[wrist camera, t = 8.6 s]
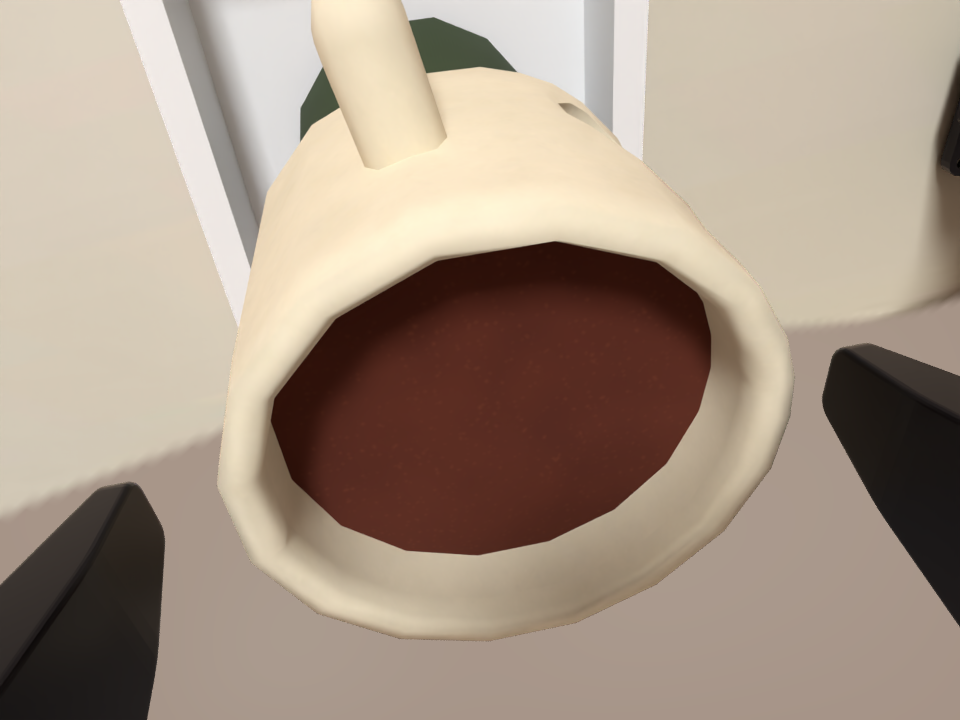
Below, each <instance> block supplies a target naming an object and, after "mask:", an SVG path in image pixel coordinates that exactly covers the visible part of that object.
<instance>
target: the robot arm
mask: <svg viewBox="0 0 960 720" xmlns="http://www.w3.org/2000/svg"><path fill="white" fill-rule="evenodd" d="M959 158H960V98H959V102H958V105H957V108H956V112H955V115H954V118H953V122H952V125H951V128H950V132H949V135H948V138H947V142H946V145H945V148H944V152H943V155H942V158H941V167H942V169H943V170H945V171H946V172H948V173H950V174H952V175H954V176H960V161H959V162H958V163H957V161H958V159H959ZM822 403H823V408H824V411H825V414H826V416H827V418H828V420H829V422H830V424H831V425H832V427H833V429H834V431H835V433H836V434H837V436H838V438H839V440H840V442H841V444H842V445H843V447H844V449H845V451H846V453H847V455H848V456H849V458H850V460H851V462H852V464H853V465H854V467H855V469H856V471H857V473H858V475H859V476H860V478H861V480H862V482H863V484H864V485H865V487H866V489H867V491H868V493H869V494H870V496H871V498H872V500H873V501H874V503H875V505H876V506H877V508H878V510H879V511H880V513H881V514H882V516H883V517H884V519H885V520H886V522H887V523H888V525H889V526H890V528H891V529H892V530H893V532H894V533H895V535H896V536H897V538H898V539H899V540H900V542H901V543H902V545H903V546H904V547H905V549H906V551H907V552H908V553H909V555H910V556H911V558H912V559H913V561H914V562H915V563H916V565H917V566H918V568H919V569H920V570H921V572H922V573H923V575H924V576H925V577H926V579H927V580H928V582H929V583H930V585H931V586H932V588H933V589H934V591H935V592H936V594H937V595H938V596H939V598H940V599H941V601H942V602H943V604H944V605H945V606H946V608H947V609H948V611H949V612H950V613H951V615H952V616H953V618H954V619H955V621H956V622H957V624H958V625H959V626H960V376H958V375H955V374H952V373H950V372H947V371H944V370H942V369H939V368H936V367H933V366H931V365H928V364H925V363H922V362H920V361H917V360H914V359H912V358H909V357H906V356H903V355H901V354H898V353H895V352H892V351H890V350H887V349H884V348H882V347H879V346H876V345H873V344H869V343H863V344H857V345H852V346H847V347H842V348H840V349H838V350H836V352H835V353H834V354H833V356H832V359H831V363H830V367H829V371H828V375H827V379H826V383H825V388H824V391H823V396H822ZM164 537H165V536H164V531H163V528H162V525H161V524H160V521H159V519H158V518H157V516H156V514H155V512H154V511H153V508H152V507H151V505H150V503H149V501H148V499H147V498H146V496H145V494H144V492H143V490H142V489H141V488H140V486H139V485H138V484H136V483H134V482H125V483H120V484H114V485H109V486H104V487H101V488H99V489H97V490H96V491H95V492H94V493H93V494H92V495H91V496H90V497H89V498H88V499H86V500H85V502H83V503H82V505H81V506H79V508H77V510H75V511H74V512H73V513H72V514H71V515H70V516H69V517H68V518H67V519H66V520H65V521H64V522H63V523H62V524H61V525H60V526H59V527H58V528H57V529H56V530H55V531H54V532H53V533H52V534H51V535H50V536H49V537H48V538H47V539H46V540H45V541H44V542H43V543H42V544H41V545H40V546H39V547H38V548H37V549H36V550H35V551H34V552H33V553H32V554H31V555H30V556H29V557H28V558H27V559H26V560H25V561H24V562H23V563H22V564H21V565H20V566H19V567H18V568H17V569H16V570H15V571H14V572H13V573H12V574H11V575H10V576H9V577H8V578H7V579H6V580H5V581H4V582H3V583H2V584H1V585H0V720H147V716H148V711H149V706H150V700H151V694H152V689H153V684H154V678H155V671H156V665H157V658H158V647H159V633H160V632H159V631H160V617H161V600H162V583H163V568H164V552H165V538H164Z"/></svg>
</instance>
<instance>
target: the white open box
mask: <svg viewBox="0 0 960 720" xmlns="http://www.w3.org/2000/svg"><path fill="white" fill-rule="evenodd" d="M401 1H402V4H403V6H404V9H405V12H406V15H407V18H408V21H410V20H417V19H424V18H431V17H435V18H437V19H440V20H442V21H445V22H447V23H450V24H452V25H455V26H457V27H460V28H462V29H465V30H467V31H470V32H472V33H475V34H477V35H480V36H482V37H485V38H487V39H488V40H489V41H490V42H491V43H492V45H493V46H494V47H495V48H496V49H497V50H498V51H499V52H500V53H501V54H502V56H503V57H504V58H505V59H506V60H507V61H508V62H509V63H510V64H511V65H512V67H513V68H514V69H515V70H516V71H517V72H518V73H522V74H525V75H528V76H531V77H534V78H537V79H540V80H543V81H546V82H549V83H552V84H554V85H556V86H557V87H559V88H560V89H562V90H564V91H565V92H567V93H568V94H570V95H571V96H573V97H575V98H576V99H578V100H579V101H581V102H582V103H583V104H584V105H585V106H586V107H587V108H588V109H589V110H590V111H591V112H592V113H593V114H594V115H595V116H596V117H597V118H598V119H599V120H600V121H601V122H602V123H603V124H604V125H605V126H606V127H607V128H608V129H609V130H610V131H611V132H612V133H613V134H614V135H615V136H616V137H617V138H618V140H619V142H620V144H621V146H622V148H624V149H625V150H627V151H628V152H630V153H631V154H633V155H634V156H635V157H637V158H638V159H640V160H641V161H642V155H643V131H644V107H645V83H646V59H647V35H648V11H649V0H401ZM120 2H121V5H122V8H123V11H124V13H125V16H126V19H127V22H128V24H129V27H130V30H131V33H132V35H133V38H134V41H135V44H136V47H137V49H138V52H139V55H140V58H141V60H142V63H143V66H144V69H145V71H146V74H147V77H148V80H149V82H150V85H151V88H152V91H153V94H154V96H155V99H156V102H157V105H158V107H159V110H160V113H161V116H162V118H163V121H164V124H165V127H166V129H167V132H168V135H169V138H170V141H171V143H172V146H173V149H174V152H175V154H176V157H177V160H178V163H179V165H180V168H181V171H182V174H183V176H184V179H185V182H186V185H187V188H188V190H189V193H190V196H191V199H192V201H193V204H194V207H195V210H196V212H197V215H198V218H199V221H200V223H201V226H202V229H203V232H204V235H205V237H206V240H207V243H208V246H209V248H210V251H211V254H212V257H213V259H214V262H215V265H216V268H217V270H218V273H219V276H220V279H221V282H222V284H223V287H224V290H225V293H226V295H227V298H228V301H229V304H230V306H231V309H232V312H233V315H234V317H235V320H236V323H237V326H238V329H239V324H240V319H241V314H242V309H243V305H244V300H245V295H246V290H247V285H248V281H249V276H250V271H251V266H252V262H253V257H254V252H255V247H256V242H257V238H258V233H259V228H260V223H261V219H262V214H263V209H264V204H265V199H266V195H267V191H268V190H269V188H270V187H271V185H272V184H273V182H274V181H275V179H276V178H277V176H278V175H279V173H280V172H281V170H282V169H283V167H284V166H285V164H286V163H287V161H288V160H289V158H290V157H291V155H292V154H293V152H294V151H295V149H296V148H297V146H298V145H299V143H300V108H301V106H302V104H303V103H304V101H305V99H306V97H307V95H308V93H309V91H310V90H311V88H312V86H313V84H314V82H315V80H316V78H317V77H318V75H319V73H320V71H321V69H322V67H323V66H322V63H321V60H320V58H319V55H318V52H317V50H316V47H315V45H314V41H313V37H312V32H311V0H120Z"/></svg>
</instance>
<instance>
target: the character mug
mask: <svg viewBox="0 0 960 720" xmlns="http://www.w3.org/2000/svg"><path fill="white" fill-rule="evenodd" d="M311 32H312V37H313V41H314V45H315V47H316V50H317V52H318V55H319V58H320V60H321V63H322V66H323V67H322V69H321V71H320V73H319V75H318V77H317V78H316V80H315V82H314V84H313V86H312V88H311V90H310V91H309V93H308V95H307V97H306V99H305V101H304V103H303V104H302V106H301V108H300V143H299V145H298V146H297V148H296V149H295V151H294V152H293V154H292V155H291V157H290V158H289V160H288V161H287V163H286V164H285V166H284V167H283V169H282V170H281V172H280V173H279V175H278V176H277V178H276V179H275V181H274V182H273V184H272V185H271V187H270V188H269V190H268V191H267V195H266V199H265V204H264V209H263V214H262V219H261V223H260V228H259V233H258V238H257V242H256V247H255V252H254V257H253V262H252V266H251V271H250V276H249V281H248V285H247V290H246V295H245V300H244V305H243V309H242V314H241V319H240V324H239V329H238V333H237V338H236V343H235V348H234V352H233V357H232V363H231V371H230V379H229V387H228V394H227V402H226V410H225V418H224V426H223V433H222V441H221V449H220V458H219V469H218V480H217V487H218V489H219V492H220V494H221V496H222V499H223V501H224V503H225V505H226V508H227V510H228V512H229V514H230V517H231V519H232V521H233V523H234V526H235V528H236V530H237V532H238V535H239V537H240V539H241V541H242V544H243V546H244V548H245V551H246V553H247V555H248V557H249V560H250V562H251V563H252V564H253V565H254V566H256V567H257V568H258V569H260V570H261V571H262V572H264V573H265V574H266V575H268V576H269V577H270V578H272V579H273V580H274V581H275V582H277V583H278V584H279V585H281V586H282V587H283V588H284V589H286V590H287V591H288V592H290V593H291V594H292V595H294V596H295V597H296V598H298V599H299V600H300V601H301V602H303V603H304V604H306V605H307V606H308V607H309V608H311V609H312V610H313V611H314V612H316V613H317V614H320V615H323V616H327V617H330V618H333V619H337V620H340V621H343V622H347V623H350V624H353V625H356V626H359V627H363V628H366V629H369V630H372V631H376V632H379V633H382V634H386V635H389V636H392V637H395V638H399V639H423V640H425V639H426V640H461V641H492V640H496V639H502V638H506V637H511V636H516V635H521V634H525V633H530V632H535V631H540V630H545V629H549V628H554V627H559V626H564V625H568V624H573V623H577V622H579V621H581V620H583V619H585V618H587V617H589V616H591V615H593V614H596V613H598V612H600V611H602V610H604V609H606V608H608V607H610V606H612V605H614V604H616V603H618V602H621V601H623V600H625V599H627V598H629V597H631V596H633V595H635V594H637V593H639V592H641V591H644V590H646V589H648V588H650V587H652V586H654V585H656V584H658V583H659V582H660V581H661V580H663V579H664V578H665V577H666V576H668V575H669V574H670V573H671V572H673V571H674V570H675V569H676V568H678V567H679V566H680V565H682V564H683V563H684V562H685V561H687V560H688V559H689V558H690V557H692V556H693V555H694V554H696V553H697V552H698V551H699V550H701V549H702V548H703V547H704V546H706V545H707V544H708V543H709V542H711V541H712V540H713V539H714V538H716V537H717V536H718V535H720V534H721V533H722V532H723V531H724V530H725V529H726V528H727V526H728V525H729V524H730V522H731V521H732V519H733V518H734V517H735V515H736V514H737V513H738V512H739V510H740V509H741V507H742V506H743V505H744V503H745V502H746V501H747V500H748V498H749V497H750V496H751V494H752V493H753V492H754V490H755V489H756V488H757V486H758V485H759V484H760V482H761V481H762V480H763V478H764V477H765V475H766V474H767V473H768V472H769V470H770V469H771V467H772V464H773V461H774V459H775V456H776V453H777V451H778V448H779V445H780V442H781V440H782V437H783V434H784V432H785V429H786V426H787V424H788V421H789V418H790V414H791V405H792V397H793V389H794V381H795V380H794V379H795V376H794V370H793V364H792V359H791V354H790V348H789V343H788V338H787V336H786V334H785V332H784V330H783V328H782V326H781V325H780V323H779V321H778V319H777V317H776V315H775V313H774V311H773V309H772V307H771V305H770V304H769V302H768V300H767V298H766V296H765V294H764V292H763V290H762V288H761V286H760V285H759V284H758V283H757V282H756V281H755V279H754V278H753V277H752V276H751V275H750V274H749V273H748V271H747V270H746V269H745V268H744V267H743V266H742V265H741V263H740V262H739V261H738V260H737V259H736V258H735V257H734V256H733V255H732V254H731V253H730V252H729V251H728V250H727V249H726V248H724V247H723V246H722V245H721V244H720V243H719V242H718V241H717V240H716V239H715V238H714V237H713V236H712V235H711V234H710V233H709V232H708V231H707V230H706V229H705V227H704V226H703V225H702V223H701V222H700V221H699V219H698V218H697V217H696V215H695V214H694V212H693V211H692V209H691V208H690V206H689V205H688V204H687V203H686V202H685V201H684V200H683V199H682V198H681V197H680V196H679V195H678V194H676V193H675V192H674V191H673V190H672V189H671V188H670V187H669V186H668V185H667V184H666V183H665V182H664V181H663V180H661V179H660V178H659V177H658V176H657V175H656V174H655V173H654V172H653V171H652V170H651V169H650V168H649V167H648V166H646V165H645V164H644V163H643V162H642V161H641V160H640V159H638V158H637V157H635V156H634V155H633V154H631V153H630V152H628V151H627V150H625V149H624V148H622V146H621V144H620V142H619V140H618V138H617V137H616V136H615V135H614V134H613V133H612V132H611V131H610V130H609V129H608V128H607V127H606V126H605V125H604V124H603V123H602V122H601V121H600V120H599V119H598V118H597V117H596V116H595V115H594V114H593V113H592V112H591V111H590V110H589V109H588V108H587V107H586V106H585V105H584V104H583V103H582V102H581V101H579V100H578V99H576V98H575V97H573V96H571V95H570V94H568V93H567V92H565V91H564V90H562V89H560V88H559V87H557V86H556V85H554V84H552V83H549V82H546V81H543V80H540V79H537V78H534V77H531V76H528V75H525V74H522V73H518V72H517V71H516V70H515V69H514V68H513V67H512V65H511V64H510V63H509V62H508V61H507V60H506V59H505V58H504V57H503V56H502V54H501V53H500V52H499V51H498V50H497V49H496V48H495V47H494V46H493V45H492V43H491V42H490V41H489V40H488V39H487V38H485V37H482V36H480V35H477V34H475V33H472V32H470V31H467V30H465V29H462V28H460V27H457V26H455V25H452V24H450V23H447V22H445V21H442V20H440V19H437V18H435V17H431V18H424V19H417V20H410V21H408V18H407V15H406V12H405V9H404V6H403V4H402V1H401V0H311Z"/></svg>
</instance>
